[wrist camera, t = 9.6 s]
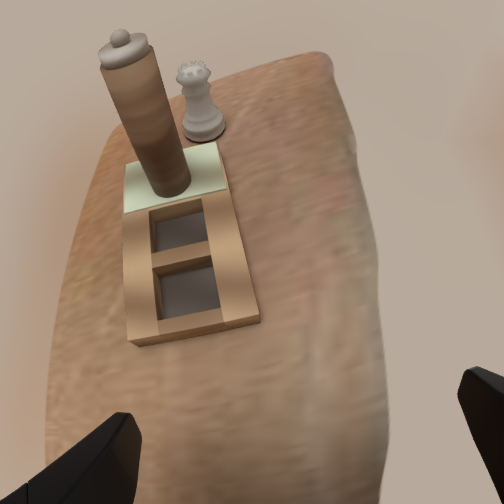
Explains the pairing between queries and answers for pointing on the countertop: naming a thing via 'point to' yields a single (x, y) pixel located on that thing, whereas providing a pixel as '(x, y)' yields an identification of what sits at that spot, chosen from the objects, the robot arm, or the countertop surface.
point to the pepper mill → (145, 111)
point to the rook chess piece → (199, 104)
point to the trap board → (184, 256)
